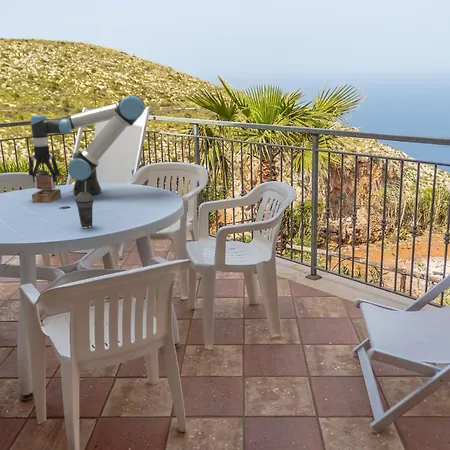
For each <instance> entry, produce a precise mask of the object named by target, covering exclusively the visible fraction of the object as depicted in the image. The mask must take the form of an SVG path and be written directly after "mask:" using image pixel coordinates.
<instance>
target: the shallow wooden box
mask: <svg viewBox="0 0 450 450" xmlns="http://www.w3.org/2000/svg"><path fill="white" fill-rule="evenodd" d="M61 197H62V193H61V189H60V188H59V189H58V188H57V189H56V188H54V189H49V190H44V189H39V190H38V191H36V192H34V193H32V194H31V199H32V200H31V201H32V203H40V204H41V203H42V204H43V203H45V204H46V203H53V202H55V201H57V200H58V199H59V198H61Z"/></svg>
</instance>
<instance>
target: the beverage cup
mask: <svg viewBox="0 0 450 450" xmlns="http://www.w3.org/2000/svg"><path fill="white" fill-rule="evenodd" d="M75 203H76V206H77V210H78V211H77V212H78V216H79V222H80V226H81V228H82V227H89V226H92V227H93V205H94V199H93V195H91V194H90V193H88V192H86V181H85V191H83V192H80V193H79V194H78V195H76V198H75Z"/></svg>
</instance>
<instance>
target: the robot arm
mask: <svg viewBox="0 0 450 450" xmlns="http://www.w3.org/2000/svg"><path fill="white" fill-rule="evenodd" d="M145 107H146V106H145V102H144V100H143V99H142V98H141V97H140V96H139V95H135V94H134V95H133V94H130V95H127V96H125V97H124V98H123V99H120V100H119V99H118V100H117V101H116V102H115V103H112V104H108V105H104V106H100V107H97V108H93V109H88V110H85V111H81V112H77V113H74V114H70V115H66V116H61V117H59V118H52V119H49V118H47V115H45V114H36V115H35V114H34V115H33V114H32V115H31V116H30V126H31V127H30V128H31V134H32V135H31V136H32V143H33V144H32V145H33V156H29V157H28V160H29V165H28V166H29V167H28V176H31V177H32V181H33V183H34V185H35V189H36V190H37V189H38V180H37V175H38V170H39V167H40V165H41V164H43V165H44V164H45V166H46V167H47V169H48V171H49V174H50V175H52V177H51V184H52V189H56V184H55V183H57V176H58V175H60V172H59V168H58V164H57V161H56V160H57V157H56V155H53V156H52V155H51V154H50V146H49V135H50V134H51V135H52V134H53V135H54V134H55V135H57V134H58V135H61V134H63V135H65V134H67V135H68V134H71V132H72V130H76V129H79V128H84V127H87V126H88V127H89V126H92V125H94V124H98V123H103V122H106V121H108V122H107V123H106V124H105V126H104V127H103V128H102V129H101V130H100V132H99V133H98V134H97V135H96V136H95V138H94V139H93V140H92V141H90V143H89V144H88V146H87V147H86V148H85V149H80V150H79V152H73V156H72V158H73V159H72V160H71V161H69V163H68V165H67V166H68V167H67V171H68V174H69V176H70V178H73V179H74V180H75V181H74V185H73V189H72V190H73V195H74V196H77V195H78V194H79V193H80V192H83V191H85V181H86V192H88V193H90V194H91V195H92V196H95V195H98V194H101V193H102V188H101V185H100V183H99V180H98V176H97V167H98V166H99V160H100V159H101V158H102V157H103V155H104V154H105V153H106V152H107V151H108V150H109V149H110V148H111V146H112V145H113V144H114V142H116V140H117V139H118V138H119V137H120V136H121V134H122V133H123V132H124V131H125V130H126V128H128V127H132V126H133V125H134V124H135V122H136V121H138V119H140V117H141V116H142V115H143V113H144V111H145ZM34 161H36V162H35V164H34ZM50 161H51V162H50ZM51 163H52V165H51ZM34 165H35V166H34ZM38 190H39V189H38Z"/></svg>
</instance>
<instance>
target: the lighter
mask: <svg viewBox="0 0 450 450" xmlns="http://www.w3.org/2000/svg"><path fill="white" fill-rule="evenodd" d="M36 176H37V180H38V190H42V189H44V190H49V189H52V184H51V177H52V175H51V174H50V171H49V170H46V169H44V170H42V169H41V170H39V169H38V172H37V175H36Z"/></svg>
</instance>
